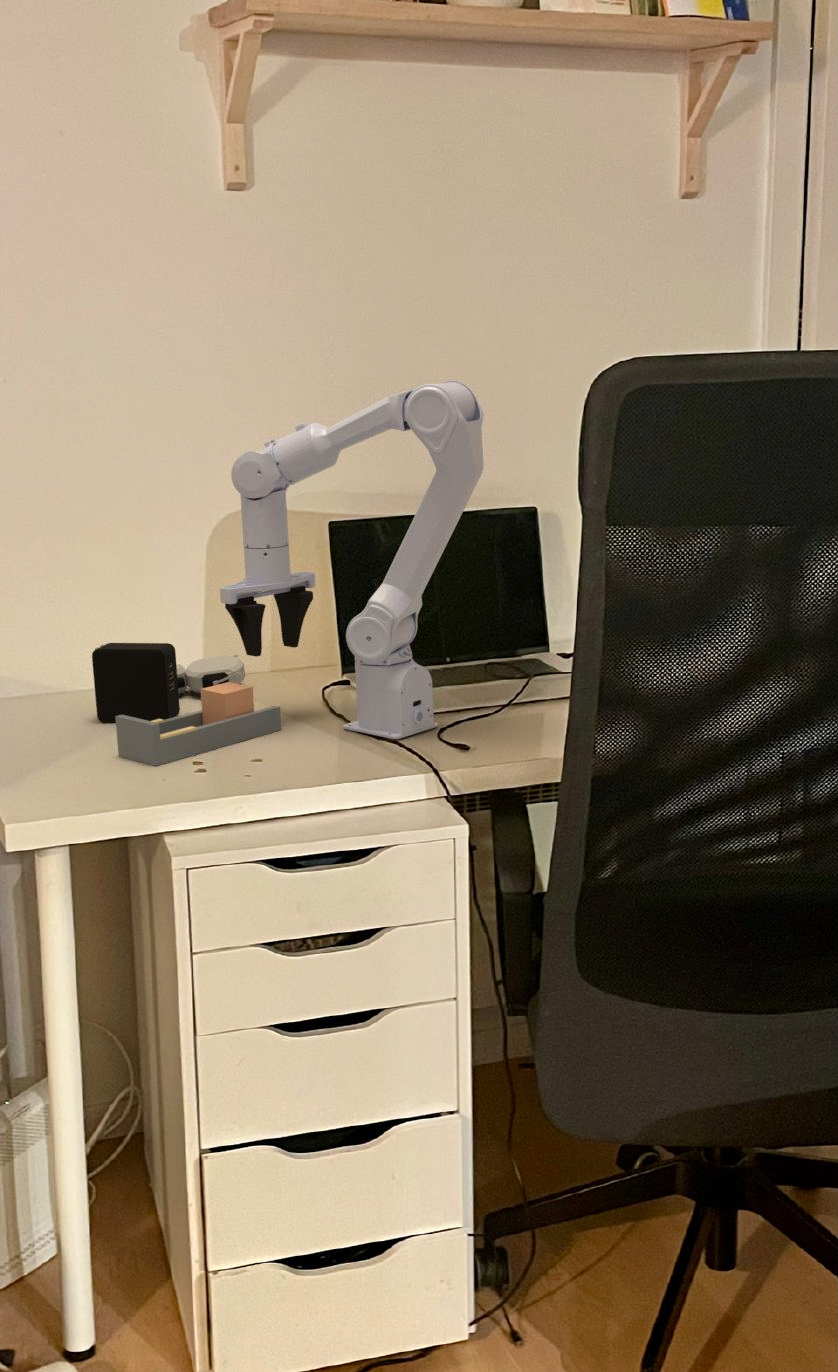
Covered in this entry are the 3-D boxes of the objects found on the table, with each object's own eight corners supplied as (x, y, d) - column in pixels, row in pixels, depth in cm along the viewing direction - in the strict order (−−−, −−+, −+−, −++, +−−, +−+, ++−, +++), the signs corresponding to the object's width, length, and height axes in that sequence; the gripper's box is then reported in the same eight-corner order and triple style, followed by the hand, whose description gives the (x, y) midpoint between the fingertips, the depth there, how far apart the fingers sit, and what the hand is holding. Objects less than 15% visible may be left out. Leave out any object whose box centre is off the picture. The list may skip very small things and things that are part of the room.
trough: (243, 721, 197) (241, 684, 196) (281, 729, 192) (279, 691, 191) (118, 756, 183) (115, 716, 182) (155, 766, 178) (152, 725, 177)
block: (231, 720, 194) (228, 681, 193) (255, 725, 191) (252, 686, 190) (203, 727, 191) (200, 689, 189) (227, 733, 187) (224, 694, 186)
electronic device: (169, 724, 197) (163, 649, 195) (97, 723, 199) (90, 649, 197) (180, 716, 201) (175, 643, 199) (110, 715, 203) (103, 642, 201)
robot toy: (139, 714, 207) (248, 698, 209) (134, 682, 206) (244, 666, 208) (142, 693, 219) (245, 679, 221) (137, 663, 218) (241, 649, 220)
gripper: (287, 536, 199) (292, 637, 202) (201, 550, 189) (208, 657, 192) (324, 540, 194) (329, 643, 198) (238, 555, 184) (245, 663, 187)
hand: (272, 650), depth 194 cm, fingers open, 6 cm apart
